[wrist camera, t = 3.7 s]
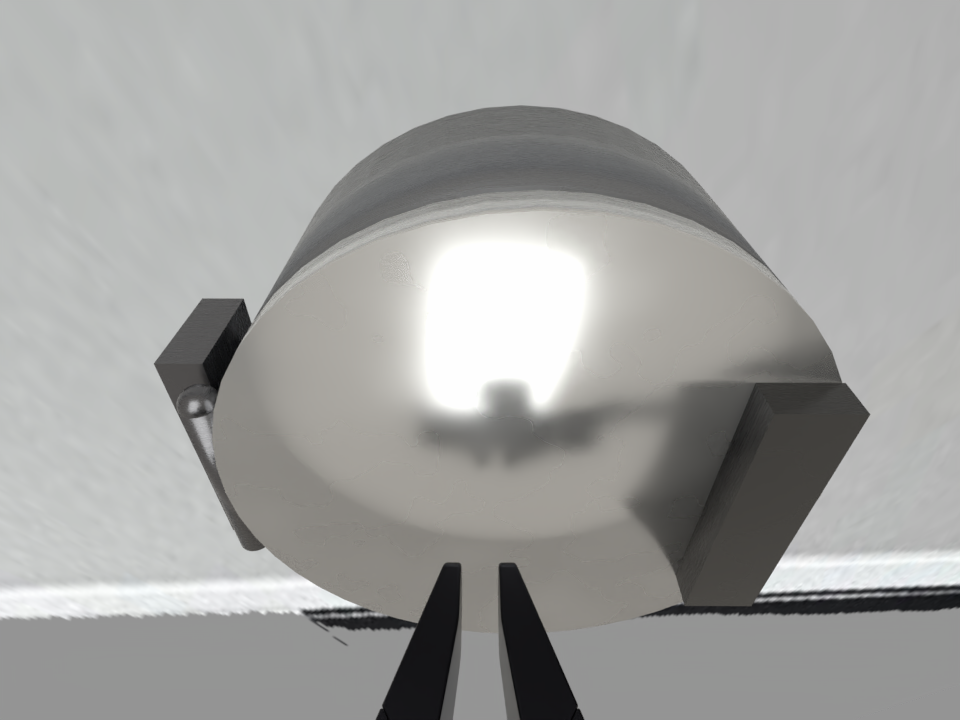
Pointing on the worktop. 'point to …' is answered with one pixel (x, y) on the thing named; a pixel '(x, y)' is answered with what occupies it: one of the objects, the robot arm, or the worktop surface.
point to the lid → (528, 412)
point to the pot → (451, 175)
